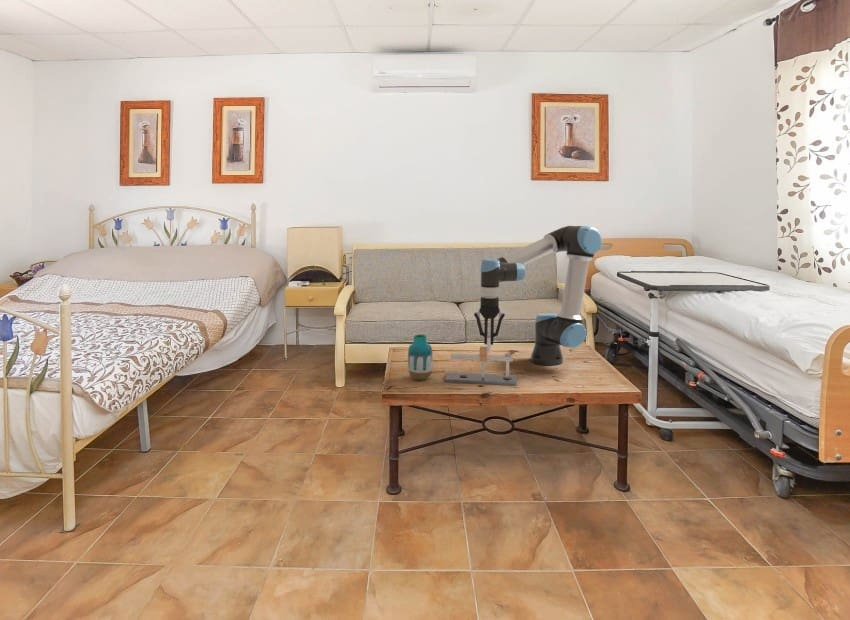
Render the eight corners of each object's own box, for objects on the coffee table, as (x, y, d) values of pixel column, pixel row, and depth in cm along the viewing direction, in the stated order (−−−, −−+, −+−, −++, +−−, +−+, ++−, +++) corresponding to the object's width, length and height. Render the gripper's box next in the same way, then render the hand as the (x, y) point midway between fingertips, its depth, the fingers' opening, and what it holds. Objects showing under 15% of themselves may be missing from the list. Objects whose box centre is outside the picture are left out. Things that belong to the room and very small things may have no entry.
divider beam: (512, 377, 224) (512, 353, 222) (512, 379, 222) (512, 355, 220) (451, 374, 229) (451, 351, 227) (450, 376, 226) (450, 352, 224)
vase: (407, 375, 232) (407, 333, 229) (431, 374, 233) (431, 332, 230) (408, 383, 222) (408, 338, 218) (433, 382, 223) (433, 338, 219)
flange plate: (516, 378, 228) (517, 375, 228) (516, 385, 218) (516, 382, 218) (448, 374, 233) (448, 371, 233) (444, 381, 223) (444, 378, 223)
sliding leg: (486, 374, 227) (487, 346, 224) (486, 377, 223) (486, 348, 221) (479, 374, 227) (480, 346, 225) (479, 377, 223) (479, 348, 221)
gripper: (505, 295, 221) (504, 350, 225) (474, 295, 223) (474, 349, 227) (505, 298, 214) (504, 354, 218) (473, 297, 216) (472, 353, 220)
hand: (488, 351), depth 223 cm, fingers closed
